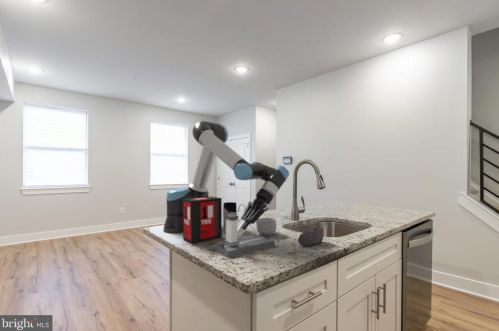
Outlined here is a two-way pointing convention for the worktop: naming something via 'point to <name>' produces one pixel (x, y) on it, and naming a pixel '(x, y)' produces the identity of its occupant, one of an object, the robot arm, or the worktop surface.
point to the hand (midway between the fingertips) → (237, 234)
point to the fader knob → (231, 230)
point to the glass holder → (229, 211)
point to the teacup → (266, 225)
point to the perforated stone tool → (311, 237)
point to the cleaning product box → (202, 219)
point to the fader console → (245, 245)
